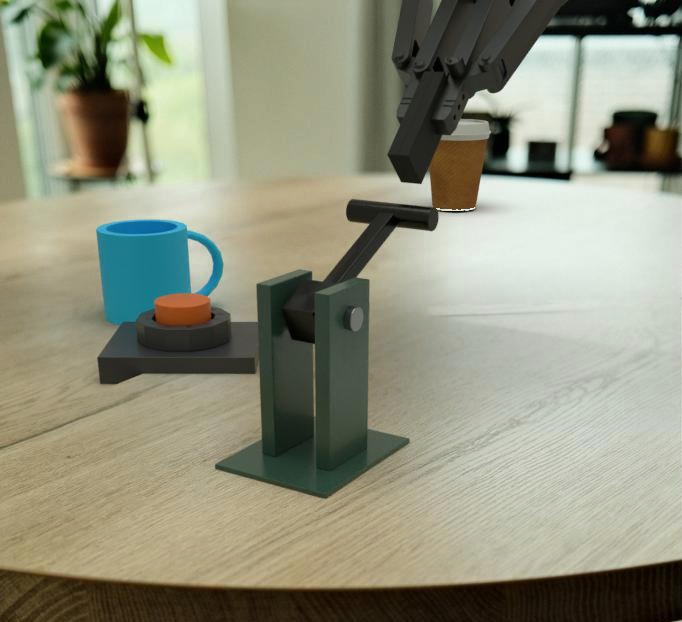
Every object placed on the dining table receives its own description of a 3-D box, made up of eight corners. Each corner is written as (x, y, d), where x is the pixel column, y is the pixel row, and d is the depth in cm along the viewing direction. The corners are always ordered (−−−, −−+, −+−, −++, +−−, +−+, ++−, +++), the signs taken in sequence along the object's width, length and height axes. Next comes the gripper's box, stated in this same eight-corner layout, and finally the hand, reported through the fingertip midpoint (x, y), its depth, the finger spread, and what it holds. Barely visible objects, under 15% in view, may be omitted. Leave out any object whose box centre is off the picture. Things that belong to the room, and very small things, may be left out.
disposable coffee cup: (494, 213, 146) (500, 124, 140) (429, 215, 144) (433, 125, 139) (476, 202, 154) (481, 118, 149) (415, 204, 153) (417, 119, 148)
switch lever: (360, 219, 67) (352, 187, 66) (441, 229, 64) (435, 195, 63) (265, 335, 61) (253, 303, 59) (350, 351, 58) (340, 317, 57)
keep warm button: (151, 329, 79) (149, 307, 78) (160, 314, 83) (159, 293, 82) (208, 329, 79) (206, 307, 78) (214, 314, 83) (213, 293, 82)
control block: (100, 384, 78) (94, 334, 77) (125, 346, 87) (120, 300, 86) (255, 384, 78) (253, 334, 77) (264, 346, 87) (263, 300, 86)
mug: (123, 332, 91) (114, 239, 88) (93, 311, 97) (83, 224, 94) (243, 313, 97) (239, 226, 93) (207, 295, 103) (202, 212, 100)
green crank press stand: (306, 431, 70) (304, 257, 64) (409, 455, 66) (415, 273, 61) (215, 482, 62) (204, 290, 57) (325, 513, 58) (324, 310, 53)
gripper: (628, -70, 70) (513, 215, 65) (457, -63, 76) (339, 198, 71) (612, -173, 64) (483, 134, 58) (427, -156, 70) (295, 123, 64)
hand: (404, 169), depth 65 cm, fingers closed
